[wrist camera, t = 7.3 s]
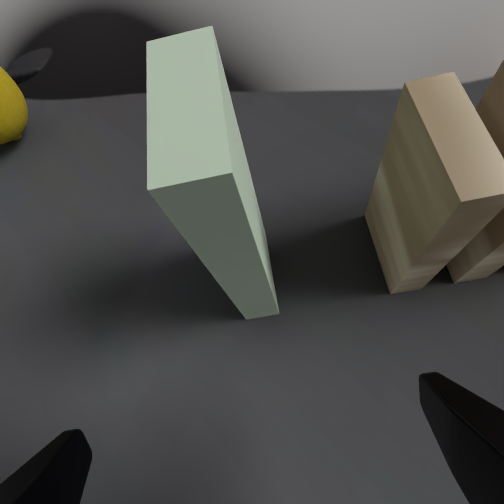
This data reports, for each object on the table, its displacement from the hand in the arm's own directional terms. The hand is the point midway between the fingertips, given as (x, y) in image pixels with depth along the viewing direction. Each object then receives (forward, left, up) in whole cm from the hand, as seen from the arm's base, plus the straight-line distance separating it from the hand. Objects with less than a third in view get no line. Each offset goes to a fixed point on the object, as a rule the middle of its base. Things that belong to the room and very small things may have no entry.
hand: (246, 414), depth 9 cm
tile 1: (+7, -8, -8) cm, 13 cm away
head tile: (+7, 0, -8) cm, 11 cm away
